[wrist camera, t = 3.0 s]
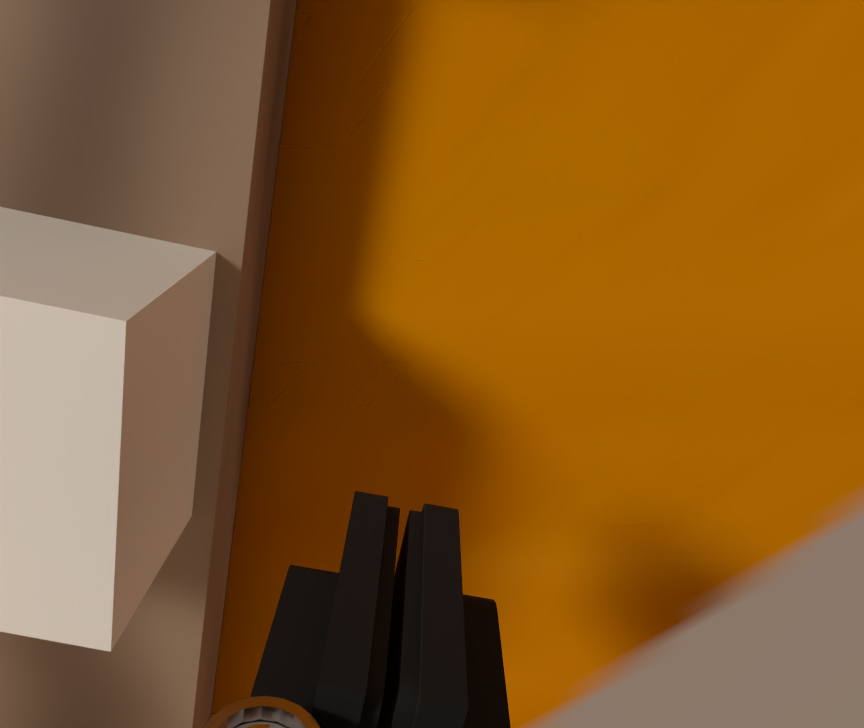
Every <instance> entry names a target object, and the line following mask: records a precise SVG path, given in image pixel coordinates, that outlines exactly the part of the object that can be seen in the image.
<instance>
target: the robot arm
mask: <svg viewBox="0 0 864 728" xmlns="http://www.w3.org/2000/svg"><path fill="white" fill-rule="evenodd" d="M387 505H388V497H386V496H380V495H374V494H369V493H363V492H358V491H355V495H354V500H353V505H352V511H351V516H350V521H349V526H348V531H347V536H346V541H345V546H344V551H343V557H342V562H341V567H340V572H339V573H335V572H329V571H323V570H317V569H312V568H306V567H300V566H294V565H290V567H289V570H288V573H287V576H286V580H285V583H284V586H283V590H282V593H281V596H280V600H279V603H278V606H277V610H276V613H275V616H274V620H273V623H272V626H271V630H270V633H269V636H268V640H267V643H266V647H265V650H264V653H263V657H262V660H261V663H260V667H259V670H258V673H257V677H256V680H255V683H254V687H253V690H252V693H251V697H247V698H244V699H241V700H238V701H236V702H233V703H230V704H228V705H227V706H225V707H224V708H222V709H221V710H219V711H218V712H217V713H215V714H214V715H213V716H212V717H211V718H210V720H209V721H208V722H207V723H206V725H205V726H204V727H203V728H510V719H509V711H508V702H507V693H506V684H505V675H504V666H503V658H502V649H501V640H500V631H499V622H498V613H497V607H496V603H495V601H494V600H492V599H486V598H480V597H474V596H469V595H463V592H462V572H461V552H460V532H459V513H458V510H457V509H452V508H447V507H441V506H436V505H430V504H424V506H423V509H422V512H418V511H412V510H410V512H409V515H408V519H407V523H406V528H405V532H404V537H403V541H402V545H401V550H400V554H399V559H398V563H397V567H396V572H395V561H396V549H397V537H398V526H399V514H400V508H395V507H390V506H387ZM394 573H395V576H394Z"/></svg>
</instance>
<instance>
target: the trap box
mask: <svg viewBox="0 0 864 728" xmlns="http://www.w3.org/2000/svg"><path fill="white" fill-rule="evenodd" d="M296 3H297V0H0V207H4V208H9V209H14V210H19V211H23V212H28V213H33V214H38V215H43V216H47V217H52V218H57V219H62V220H67V221H71V222H76V223H81V224H86V225H91V226H95V227H100V228H105V229H110V230H115V231H119V232H124V233H129V234H134V235H139V236H144V237H148V238H153V239H158V240H163V241H168V242H172V243H177V244H182V245H187V246H192V247H196V248H201V249H206V250H211V251H216V261H215V272H214V283H213V294H212V304H211V315H210V326H209V337H208V347H207V358H206V369H205V380H204V390H203V401H202V412H201V422H200V433H199V444H198V455H197V465H196V476H195V487H194V498H193V508H192V516H191V518H190V520H189V521H188V523H187V525H186V526H185V528H184V530H183V532H182V533H181V535H180V537H179V538H178V540H177V542H176V543H175V545H174V547H173V548H172V550H171V552H170V553H169V555H168V557H167V558H166V560H165V562H164V563H163V565H162V567H161V568H160V570H159V572H158V574H157V575H156V577H155V579H154V580H153V582H152V584H151V585H150V587H149V589H148V590H147V592H146V594H145V595H144V597H143V599H142V600H141V602H140V604H139V605H138V607H137V609H136V611H135V612H134V614H133V616H132V617H131V619H130V621H129V622H128V624H127V626H126V627H125V629H124V631H123V632H122V634H121V636H120V637H119V639H118V641H117V642H116V644H115V646H114V648H113V649H112V651H111V652H109V651H104V650H98V649H93V648H87V647H82V646H76V645H71V644H65V643H60V642H54V641H49V640H44V639H38V638H33V637H27V636H22V635H16V634H11V633H5V632H0V728H203V727H204V726H205V725H206V723H207V722H208V721H209V720H210V718H211V711H212V702H213V694H214V686H215V677H216V669H217V661H218V652H219V644H220V636H221V627H222V619H223V611H224V602H225V594H226V586H227V577H228V569H229V561H230V552H231V544H232V536H233V527H234V519H235V511H236V502H237V494H238V486H239V477H240V469H241V461H242V452H243V444H244V436H245V427H246V419H247V411H248V402H249V394H250V386H251V377H252V369H253V361H254V352H255V344H256V336H257V327H258V319H259V311H260V303H261V294H262V286H263V278H264V269H265V261H266V253H267V244H268V236H269V228H270V219H271V211H272V203H273V194H274V186H275V178H276V169H277V161H278V153H279V144H280V136H281V128H282V119H283V111H284V103H285V94H286V86H287V78H288V69H289V61H290V53H291V44H292V36H293V28H294V19H295V11H296Z"/></svg>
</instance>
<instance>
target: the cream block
mask: <svg viewBox="0 0 864 728" xmlns="http://www.w3.org/2000/svg"><path fill="white" fill-rule="evenodd" d="M215 261H216V251H211V250H206V249H201V248H196V247H192V246H187V245H182V244H177V243H172V242H168V241H163V240H158V239H153V238H148V237H144V236H139V235H134V234H129V233H124V232H119V231H115V230H110V229H105V228H100V227H95V226H91V225H86V224H81V223H76V222H71V221H67V220H62V219H57V218H52V217H47V216H43V215H38V214H33V213H28V212H23V211H19V210H14V209H9V208H4V207H0V632H5V633H11V634H16V635H22V636H27V637H33V638H38V639H44V640H49V641H54V642H60V643H65V644H71V645H76V646H82V647H87V648H93V649H98V650H104V651H109V652H111V651H112V649H113V648H114V646H115V644H116V642H117V641H118V639H119V637H120V636H121V634H122V632H123V631H124V629H125V627H126V626H127V624H128V622H129V621H130V619H131V617H132V616H133V614H134V612H135V611H136V609H137V607H138V605H139V604H140V602H141V600H142V599H143V597H144V595H145V594H146V592H147V590H148V589H149V587H150V585H151V584H152V582H153V580H154V579H155V577H156V575H157V574H158V572H159V570H160V568H161V567H162V565H163V563H164V562H165V560H166V558H167V557H168V555H169V553H170V552H171V550H172V548H173V547H174V545H175V543H176V542H177V540H178V538H179V537H180V535H181V533H182V532H183V530H184V528H185V526H186V525H187V523H188V521H189V520H190V518H191V516H192V508H193V498H194V487H195V476H196V465H197V455H198V444H199V433H200V422H201V412H202V401H203V390H204V380H205V369H206V358H207V347H208V337H209V326H210V315H211V304H212V294H213V283H214V272H215Z"/></svg>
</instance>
